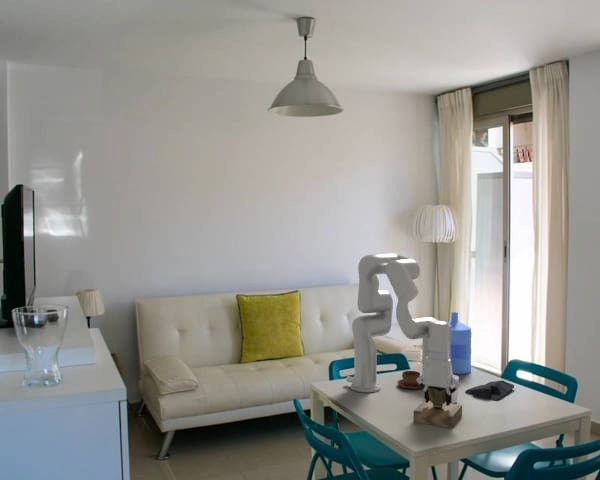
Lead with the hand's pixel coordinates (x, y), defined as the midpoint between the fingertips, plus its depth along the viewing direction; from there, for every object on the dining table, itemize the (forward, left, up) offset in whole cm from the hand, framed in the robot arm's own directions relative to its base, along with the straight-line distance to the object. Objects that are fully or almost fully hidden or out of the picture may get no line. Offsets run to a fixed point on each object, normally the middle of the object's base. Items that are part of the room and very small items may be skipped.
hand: (437, 402), depth 211 cm
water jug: (-12, +70, -6) cm, 71 cm away
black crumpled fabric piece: (+11, +43, -7) cm, 45 cm away
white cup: (-2, +22, -6) cm, 23 cm away
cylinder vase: (-15, +50, -6) cm, 52 cm away
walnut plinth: (0, 0, -6) cm, 6 cm away
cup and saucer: (-21, +34, -6) cm, 41 cm away
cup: (0, 0, -2) cm, 2 cm away
